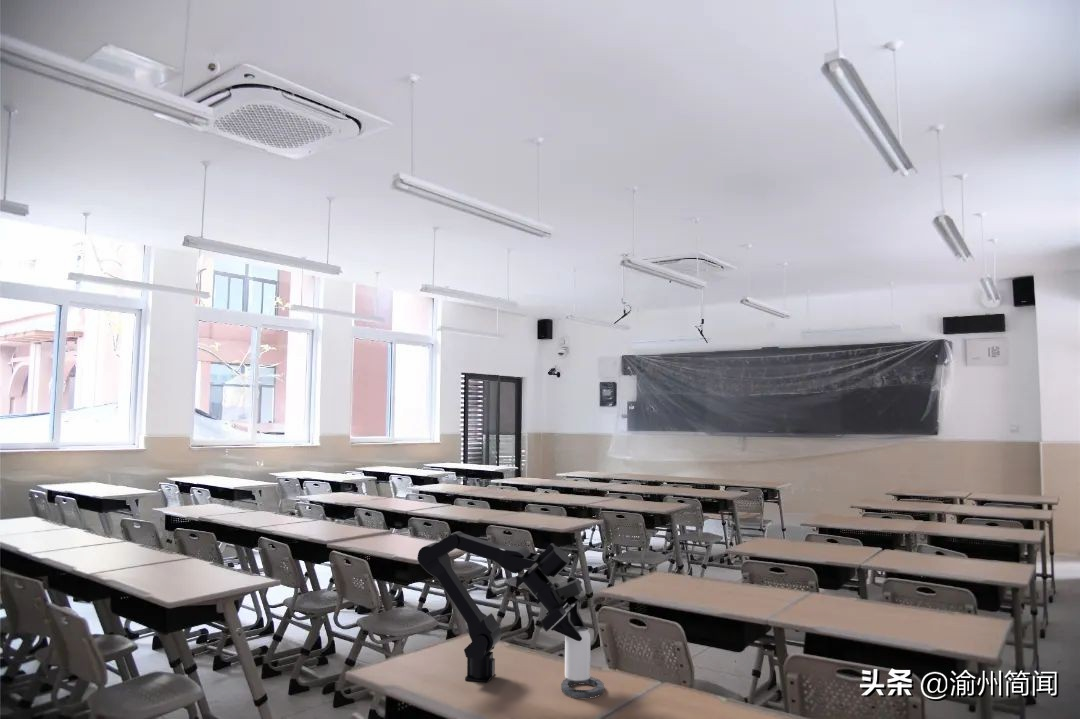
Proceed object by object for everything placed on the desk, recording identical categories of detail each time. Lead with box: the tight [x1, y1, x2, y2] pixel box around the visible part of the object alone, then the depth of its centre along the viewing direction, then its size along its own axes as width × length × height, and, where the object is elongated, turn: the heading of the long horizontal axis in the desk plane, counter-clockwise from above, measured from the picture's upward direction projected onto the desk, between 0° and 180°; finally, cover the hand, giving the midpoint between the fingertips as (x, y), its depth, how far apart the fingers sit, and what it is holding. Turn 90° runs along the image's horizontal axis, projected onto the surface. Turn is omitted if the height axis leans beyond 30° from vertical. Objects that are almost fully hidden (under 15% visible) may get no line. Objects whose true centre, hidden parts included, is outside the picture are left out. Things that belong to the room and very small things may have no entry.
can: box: [564, 626, 591, 681], centre depth 176 cm, size 6×6×12 cm
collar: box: [560, 676, 605, 699], centre depth 175 cm, size 10×10×2 cm
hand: (583, 636), depth 176 cm, fingers closed on can, 6 cm apart
